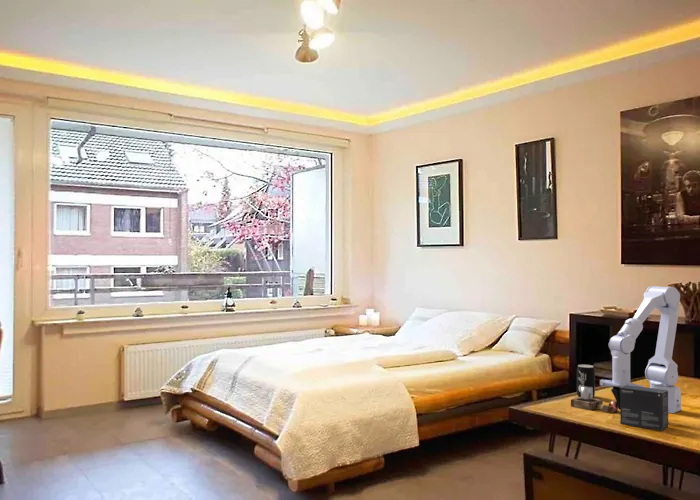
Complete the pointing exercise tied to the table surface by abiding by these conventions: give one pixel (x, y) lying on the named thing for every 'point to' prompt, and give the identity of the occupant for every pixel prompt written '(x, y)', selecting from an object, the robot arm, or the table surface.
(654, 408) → the small box
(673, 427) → the table surface
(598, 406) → the lock pin
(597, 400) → the dock mount
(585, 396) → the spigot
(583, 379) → the beverage can
